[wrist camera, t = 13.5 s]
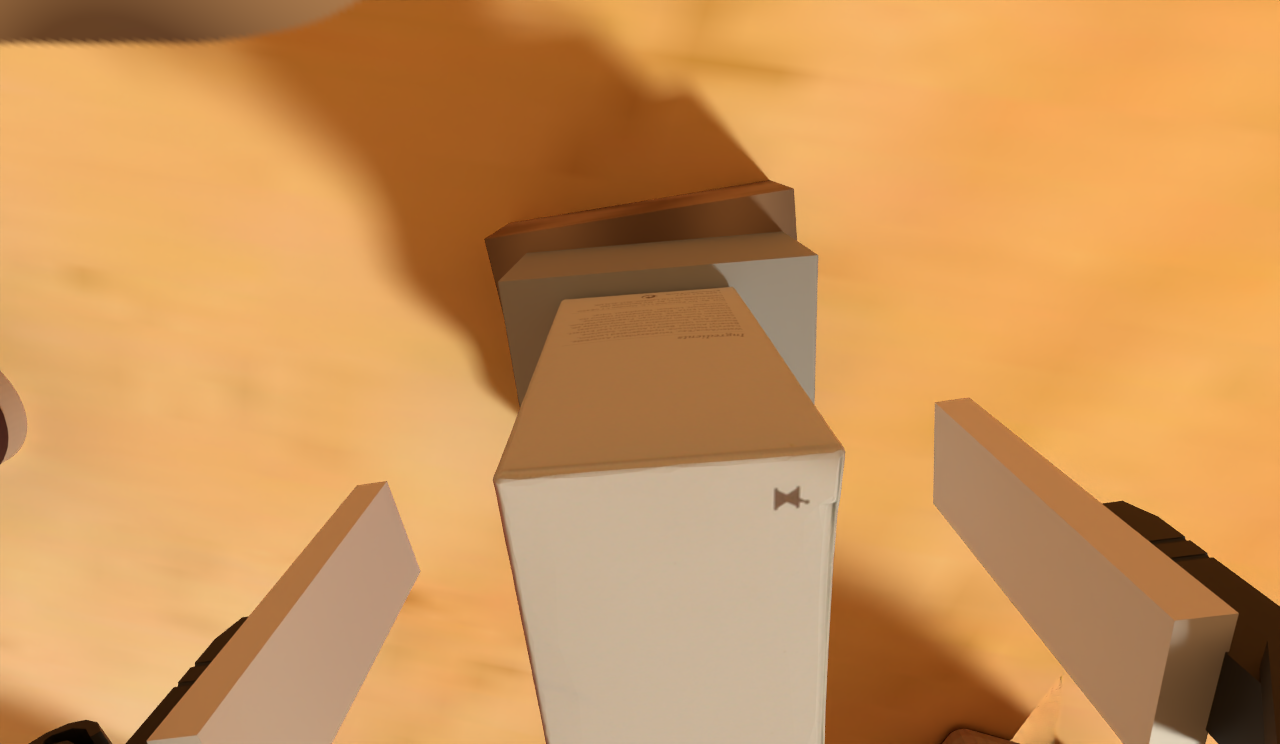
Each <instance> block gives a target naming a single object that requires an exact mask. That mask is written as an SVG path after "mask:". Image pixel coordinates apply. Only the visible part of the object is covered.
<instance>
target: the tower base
mask: <svg viewBox="0 0 1280 744" xmlns="http://www.w3.org/2000/svg"><path fill="white" fill-rule="evenodd" d="M781 231H783V232H784V233H786V234H787V235H789V236H790V237H792V238H793V239H795V240H796V241H797V233H796V217H795V201H794V189H793V188H790V187H787V186H785V185H782V184H779V183H776V182H773V181H770V180H768V181H762V182H756V183H750V184H744V185H738V186H732V187H726V188H720V189H714V190H708V191H702V192H696V193H690V194H684V195H677V196H671V197H665V198H659V199H653V200H647V201H641V202H635V203H629V204H623V205H617V206H611V207H605V208H599V209H593V210H586V211H580V212H574V213H568V214H562V215H556V216H550V217H544V218H538V219H532V220H526V221H520V222H514V223H509V224H507V225H506V226H504V227H503V228H501V229H500V230H498V231H497V232H495V233H493V234H492V235H490V236H489V237H487V238H486V239H485V243H486V247H487V251H488V255H489V259H490V263H491V267H492V271H493V275H494V279H495V283H496V287H497V291H498V295H499V299H500V303H501V307H502V302H501V297H500V291H499V285H498V281H499V280H500V279H501V278H502V277H503V276H504V275H505V274H506V273H507V272H508V271H509V270H510V269H511V268H512V267H513V266H514V265H515V264H516V263H517V262H518V261H519V260H520V259H521V258H522V257H523V256H524V255H525V254H526V253H532V252H544V251H556V250H567V249H579V248H591V247H603V246H615V245H627V244H638V243H650V242H662V241H674V240H686V239H698V238H710V237H721V236H733V235H745V234H757V233H769V232H781ZM502 311H503V308H502ZM503 315H504V314H503Z"/></svg>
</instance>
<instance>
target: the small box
mask: <svg viewBox="0 0 1280 744" xmlns="http://www.w3.org/2000/svg"><path fill="white" fill-rule="evenodd" d="M844 460H845V450H844V448H843V446H842V444H841V443H840V441H839V440H838V439H837V437H836V436H835V435H834V433H833V432H832V430H831V429H830V428H829V426H828V425H827V423H826V422H825V420H824V418H823V417H822V415H821V414H820V413H819V411H818V410H817V409H816V407H815V405H814V404H813V402H812V401H811V399H810V398H809V396H808V395H807V394H806V392H805V391H804V390H803V388H802V387H801V385H800V384H799V382H798V381H797V379H796V377H795V376H794V374H793V373H792V372H791V370H790V368H789V367H788V366H787V364H786V363H785V361H784V360H783V358H782V357H781V355H780V354H779V352H778V351H777V349H776V348H775V346H774V345H773V343H772V342H771V340H770V339H769V337H768V336H767V335H766V333H765V331H764V330H763V329H762V327H761V326H760V324H759V323H758V321H757V320H756V318H755V317H754V315H753V314H752V313H751V311H750V309H749V308H748V307H747V305H746V304H745V303H744V301H743V300H742V298H741V297H740V295H739V294H738V292H737V291H736V290H735V288H734V287H724V288H712V289H698V290H684V291H671V292H658V293H644V294H630V295H618V296H606V297H593V298H580V299H566V300H563V301H562V302H561V303H560V306H559V308H558V311H557V313H556V316H555V318H554V321H553V324H552V326H551V329H550V331H549V334H548V336H547V339H546V342H545V345H544V347H543V350H542V353H541V355H540V358H539V360H538V363H537V366H536V368H535V371H534V374H533V376H532V379H531V381H530V384H529V387H528V390H527V392H526V395H525V397H524V400H523V402H522V404H521V407H520V410H519V412H518V415H517V418H516V421H515V423H514V426H513V429H512V432H511V434H510V437H509V439H508V442H507V445H506V447H505V449H504V452H503V454H502V457H501V460H500V463H499V465H498V467H497V470H496V472H495V474H494V478H493V483H494V487H495V490H496V495H497V500H498V506H499V511H500V516H501V521H502V526H503V531H504V537H505V541H506V546H507V551H508V555H509V560H510V565H511V570H512V574H513V580H514V585H515V590H516V595H517V600H518V605H519V610H520V615H521V620H522V625H523V630H524V635H525V640H526V645H527V650H528V655H529V660H530V664H531V669H532V675H533V680H534V684H535V689H536V695H537V700H538V705H539V709H540V714H541V719H542V724H543V730H544V735H545V740H546V744H825V710H826V690H827V668H828V647H829V629H830V611H831V595H832V576H833V559H834V550H835V538H836V524H837V513H838V506H839V501H840V495H841V485H842V476H843V468H844Z"/></svg>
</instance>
